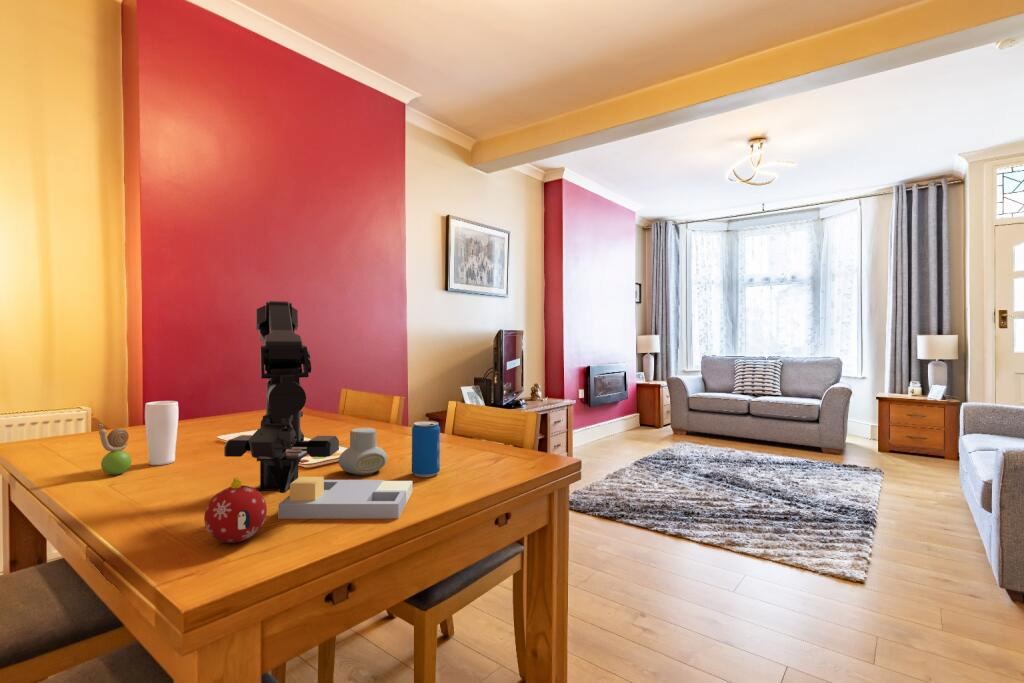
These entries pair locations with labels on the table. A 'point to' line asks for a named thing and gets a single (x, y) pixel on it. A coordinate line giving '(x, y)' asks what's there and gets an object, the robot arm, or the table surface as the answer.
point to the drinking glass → (161, 431)
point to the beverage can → (425, 448)
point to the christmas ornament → (235, 513)
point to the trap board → (352, 501)
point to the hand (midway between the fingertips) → (283, 492)
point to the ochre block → (306, 488)
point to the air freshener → (362, 453)
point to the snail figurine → (115, 451)
